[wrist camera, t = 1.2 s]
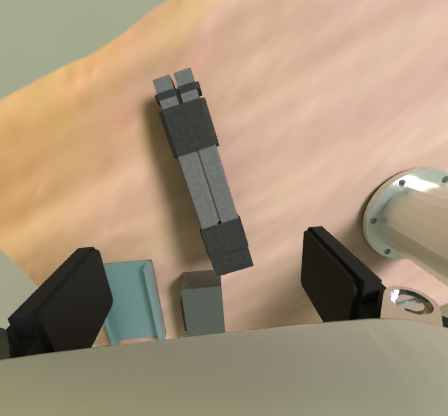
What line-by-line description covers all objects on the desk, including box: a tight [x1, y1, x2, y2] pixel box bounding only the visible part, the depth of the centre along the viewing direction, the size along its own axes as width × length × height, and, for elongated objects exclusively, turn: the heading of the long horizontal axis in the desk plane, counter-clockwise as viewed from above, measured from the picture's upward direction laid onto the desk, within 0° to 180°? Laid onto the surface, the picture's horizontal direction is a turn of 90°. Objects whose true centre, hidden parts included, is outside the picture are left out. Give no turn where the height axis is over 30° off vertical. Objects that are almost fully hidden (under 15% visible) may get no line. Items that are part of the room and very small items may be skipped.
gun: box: [153, 68, 254, 276], centre depth 26 cm, size 4×20×10 cm, turn 17°
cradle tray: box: [103, 260, 166, 345], centre depth 32 cm, size 7×13×2 cm, turn 3°
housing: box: [181, 270, 225, 337], centre depth 32 cm, size 5×10×4 cm, turn 4°
